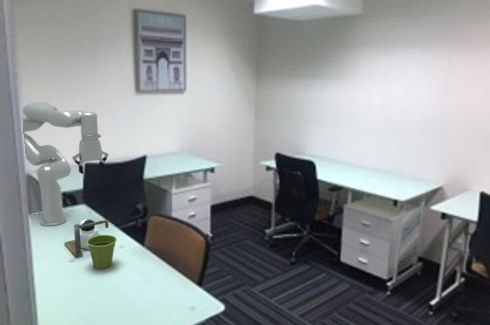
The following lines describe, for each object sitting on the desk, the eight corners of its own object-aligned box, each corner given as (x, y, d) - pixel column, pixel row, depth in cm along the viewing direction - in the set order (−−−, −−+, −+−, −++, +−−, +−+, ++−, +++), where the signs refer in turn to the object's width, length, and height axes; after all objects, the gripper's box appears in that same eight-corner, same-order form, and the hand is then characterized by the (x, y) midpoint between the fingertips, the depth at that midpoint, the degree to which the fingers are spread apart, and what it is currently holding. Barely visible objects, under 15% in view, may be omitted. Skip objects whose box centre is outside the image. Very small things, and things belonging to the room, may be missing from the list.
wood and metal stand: (76, 258, 173) (73, 226, 170) (64, 245, 185) (62, 215, 182) (112, 248, 183) (110, 219, 180) (98, 237, 195) (97, 208, 192)
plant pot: (108, 273, 161) (107, 247, 159) (82, 269, 164) (80, 244, 161) (123, 260, 173) (122, 236, 170) (98, 257, 175) (96, 233, 172)
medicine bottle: (98, 242, 188) (98, 219, 184) (91, 250, 181) (91, 226, 177) (83, 239, 188) (83, 216, 184) (76, 247, 182) (75, 223, 178)
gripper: (104, 135, 202) (106, 168, 206) (68, 137, 192) (71, 172, 195) (110, 137, 197) (111, 171, 201) (73, 140, 186) (76, 175, 190)
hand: (91, 171), depth 198 cm, fingers open, 9 cm apart
